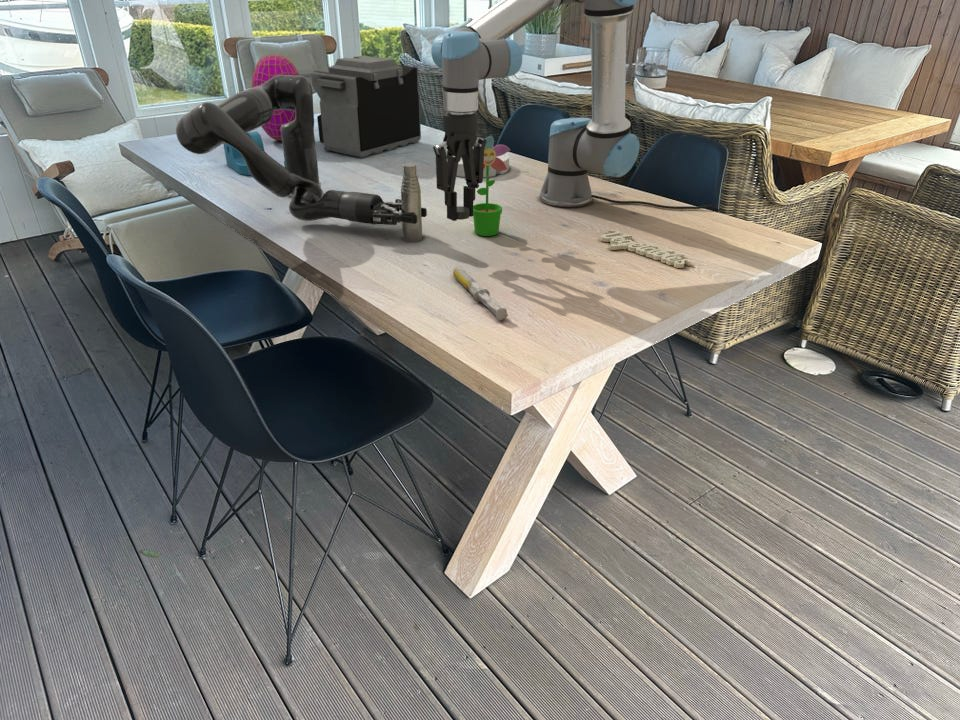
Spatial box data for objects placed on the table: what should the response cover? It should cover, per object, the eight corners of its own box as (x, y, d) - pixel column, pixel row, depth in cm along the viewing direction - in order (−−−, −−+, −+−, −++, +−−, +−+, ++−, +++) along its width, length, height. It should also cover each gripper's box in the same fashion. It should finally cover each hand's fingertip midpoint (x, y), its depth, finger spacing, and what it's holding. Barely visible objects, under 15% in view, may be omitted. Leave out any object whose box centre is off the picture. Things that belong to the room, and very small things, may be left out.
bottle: (426, 237, 175) (423, 164, 166) (413, 243, 172) (410, 168, 162) (411, 233, 178) (408, 161, 168) (399, 238, 174) (395, 165, 165)
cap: (462, 212, 161) (462, 205, 160) (473, 217, 158) (473, 210, 157) (446, 215, 159) (446, 208, 158) (457, 221, 156) (457, 213, 155)
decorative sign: (586, 237, 174) (611, 228, 179) (586, 240, 174) (611, 231, 180) (674, 268, 157) (698, 257, 162) (673, 272, 157) (698, 261, 163)
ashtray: (443, 158, 243) (443, 147, 241) (508, 159, 242) (508, 148, 240) (437, 176, 223) (437, 164, 221) (508, 178, 222) (509, 165, 220)
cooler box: (383, 133, 276) (378, 52, 261) (425, 141, 265) (422, 56, 250) (314, 150, 251) (304, 61, 235) (358, 160, 240) (350, 67, 224)
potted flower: (478, 239, 174) (479, 138, 161) (464, 230, 180) (464, 131, 167) (510, 234, 178) (514, 134, 165) (496, 224, 184) (498, 128, 171)
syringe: (449, 274, 155) (449, 263, 153) (465, 272, 156) (464, 260, 154) (490, 323, 135) (491, 310, 133) (508, 319, 136) (508, 307, 134)
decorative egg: (293, 132, 276) (283, 50, 261) (319, 140, 264) (310, 56, 249) (249, 139, 265) (236, 54, 250) (273, 148, 253) (261, 60, 238)
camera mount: (227, 164, 233) (221, 132, 227) (257, 160, 238) (252, 129, 233) (244, 176, 220) (239, 143, 215) (276, 172, 225) (271, 139, 220)
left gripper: (345, 201, 168) (408, 209, 163) (373, 185, 180) (433, 193, 175) (348, 230, 172) (409, 239, 167) (375, 213, 184) (433, 221, 179)
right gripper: (479, 104, 154) (477, 206, 166) (417, 113, 144) (420, 220, 156) (502, 109, 149) (498, 213, 161) (439, 119, 140) (440, 229, 151)
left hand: (421, 215), depth 171 cm, fingers closed on bottle, 5 cm apart
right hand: (460, 216), depth 159 cm, fingers closed on cap, 4 cm apart
